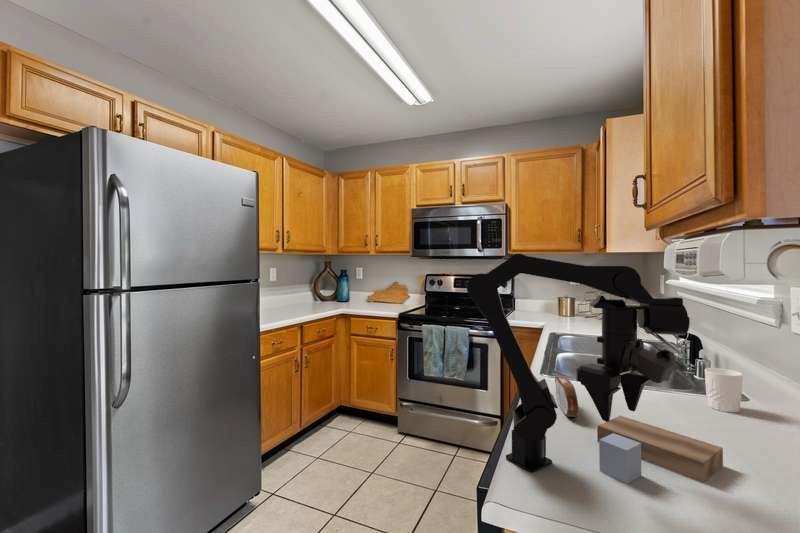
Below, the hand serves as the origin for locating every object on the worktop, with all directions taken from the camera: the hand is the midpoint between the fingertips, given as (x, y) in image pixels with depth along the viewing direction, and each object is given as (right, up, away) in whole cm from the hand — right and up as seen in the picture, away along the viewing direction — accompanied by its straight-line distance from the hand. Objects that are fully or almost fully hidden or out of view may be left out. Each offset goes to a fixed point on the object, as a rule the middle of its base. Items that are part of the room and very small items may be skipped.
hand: (619, 415), depth 70 cm
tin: (+4, -11, +30) cm, 33 cm away
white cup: (+47, -11, +32) cm, 58 cm away
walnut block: (+12, -11, +7) cm, 18 cm away
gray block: (0, -11, 0) cm, 11 cm away
